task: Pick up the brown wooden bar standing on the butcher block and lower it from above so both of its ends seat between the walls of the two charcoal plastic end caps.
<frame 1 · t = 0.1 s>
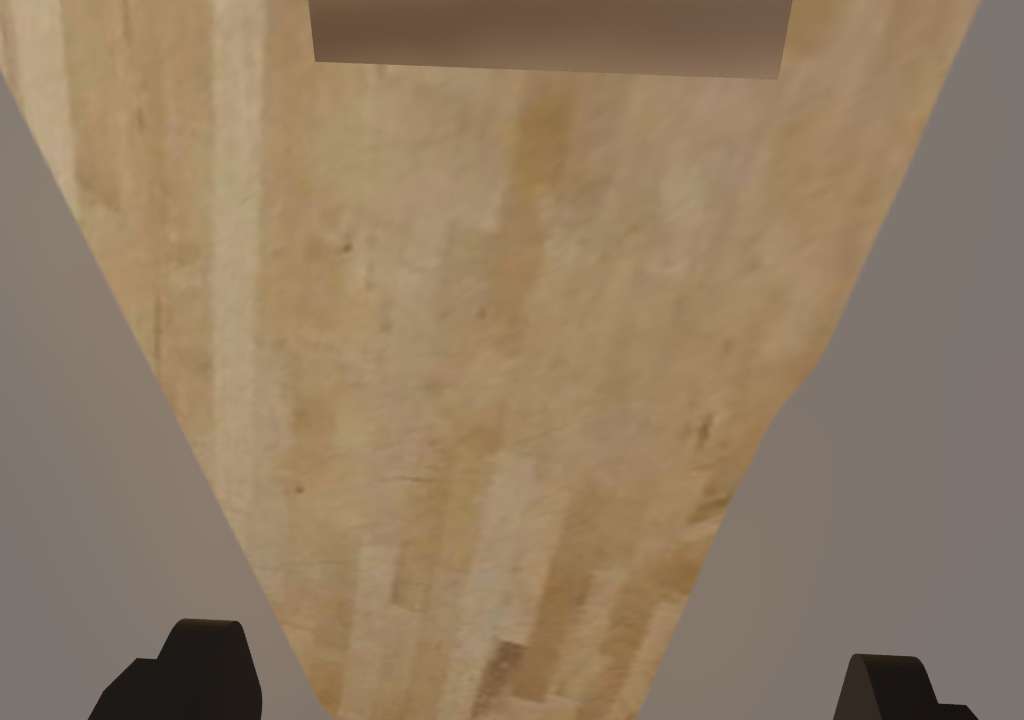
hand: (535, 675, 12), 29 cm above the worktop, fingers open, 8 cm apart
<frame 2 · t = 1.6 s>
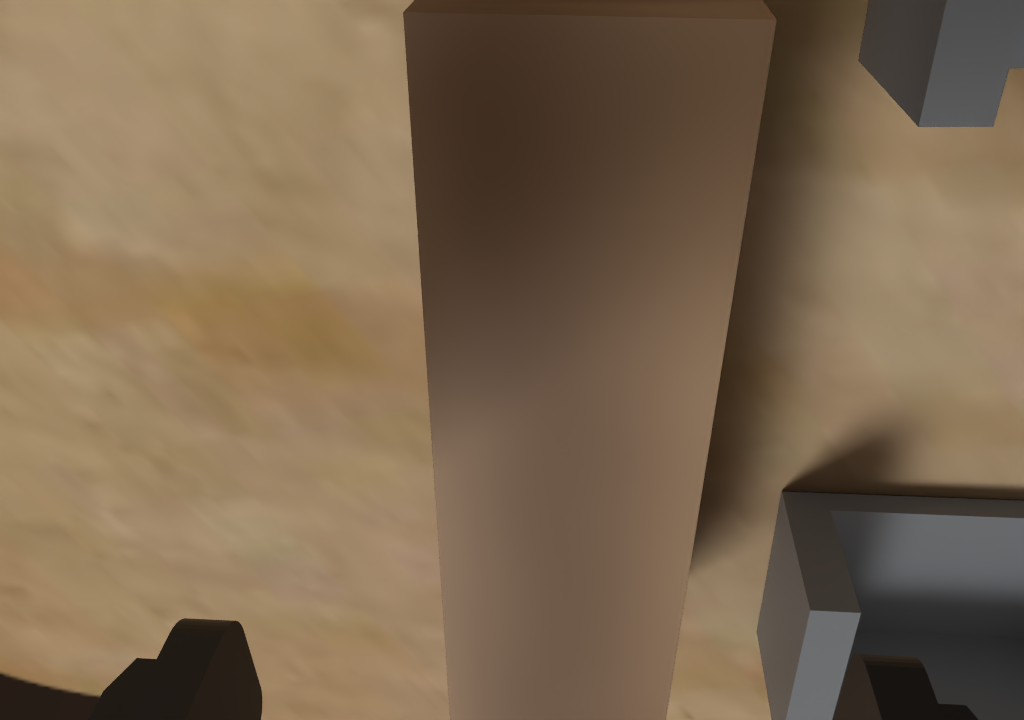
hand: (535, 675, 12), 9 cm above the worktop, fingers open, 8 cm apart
brown wooden bar: (576, 338, 19), on the worktop
endcap b: (937, 573, 22), on the worktop
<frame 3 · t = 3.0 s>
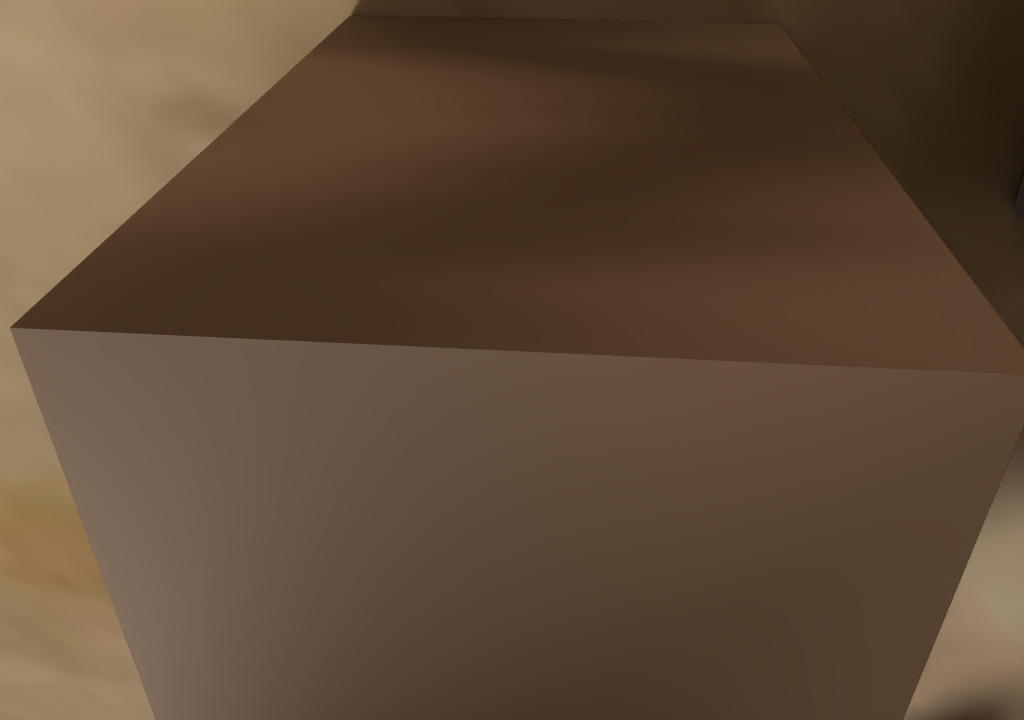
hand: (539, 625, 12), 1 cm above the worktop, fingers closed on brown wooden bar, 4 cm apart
brown wooden bar: (543, 584, 13), on the worktop, touching gripper
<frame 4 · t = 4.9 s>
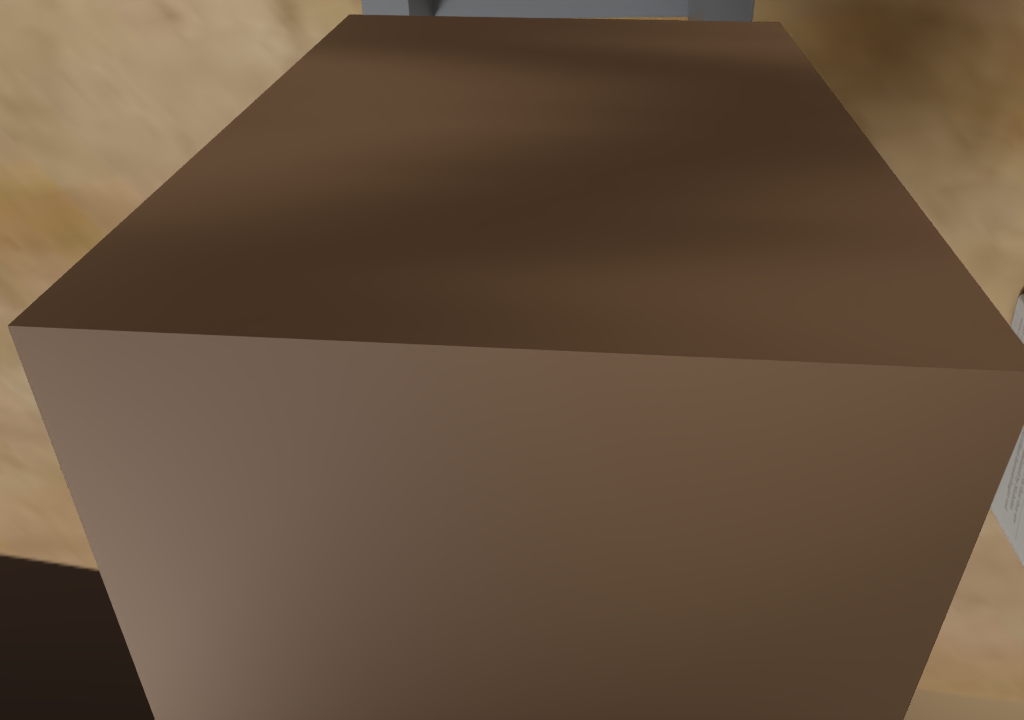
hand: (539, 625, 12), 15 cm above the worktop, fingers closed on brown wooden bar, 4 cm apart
brown wooden bar: (544, 584, 13), point 14 cm above the worktop, touching gripper
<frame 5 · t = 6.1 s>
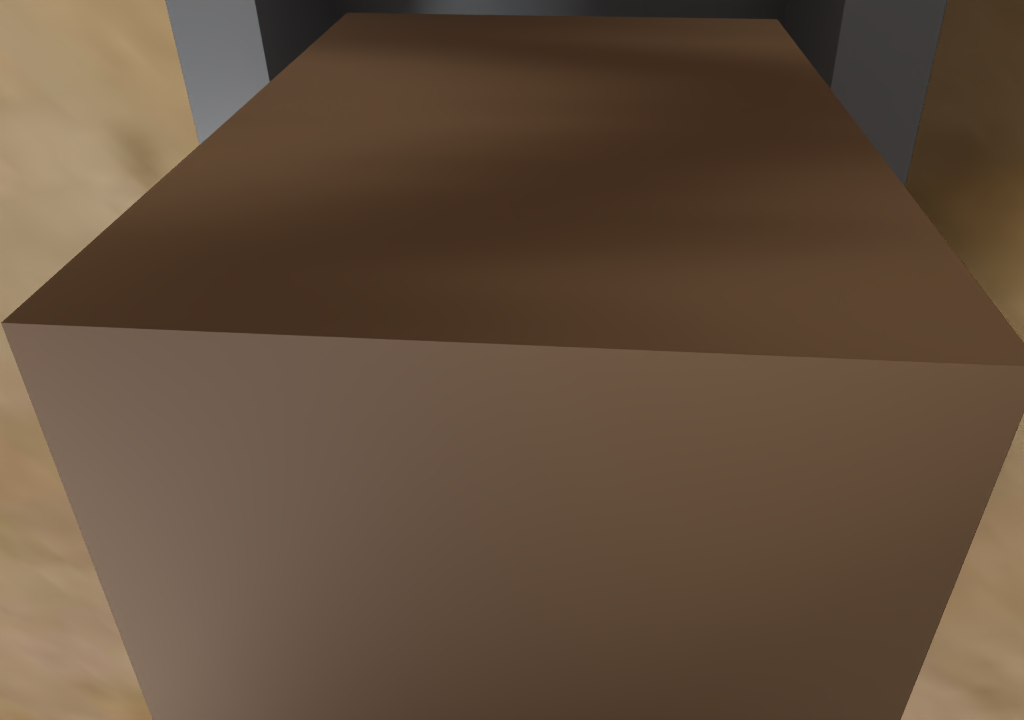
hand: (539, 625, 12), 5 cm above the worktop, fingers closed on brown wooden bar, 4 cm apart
brown wooden bar: (544, 583, 13), point 4 cm above the worktop, touching gripper
when the fingers open (2 cm above the worktop, at t = 7.0 s): brown wooden bar stays where it is, resting on endcap a, endcap b.
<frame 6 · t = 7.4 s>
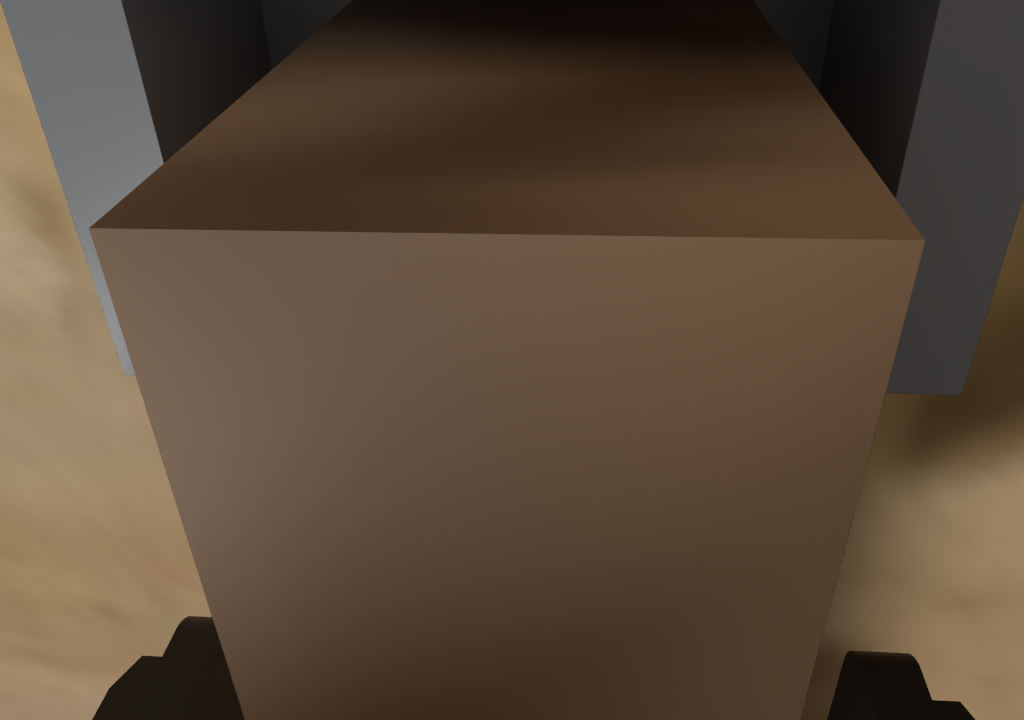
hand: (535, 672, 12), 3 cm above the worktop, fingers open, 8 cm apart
brown wooden bar: (549, 534, 14), point 1 cm above the worktop, touching endcap a, endcap b
endcap a: (542, 31, 10), on the worktop
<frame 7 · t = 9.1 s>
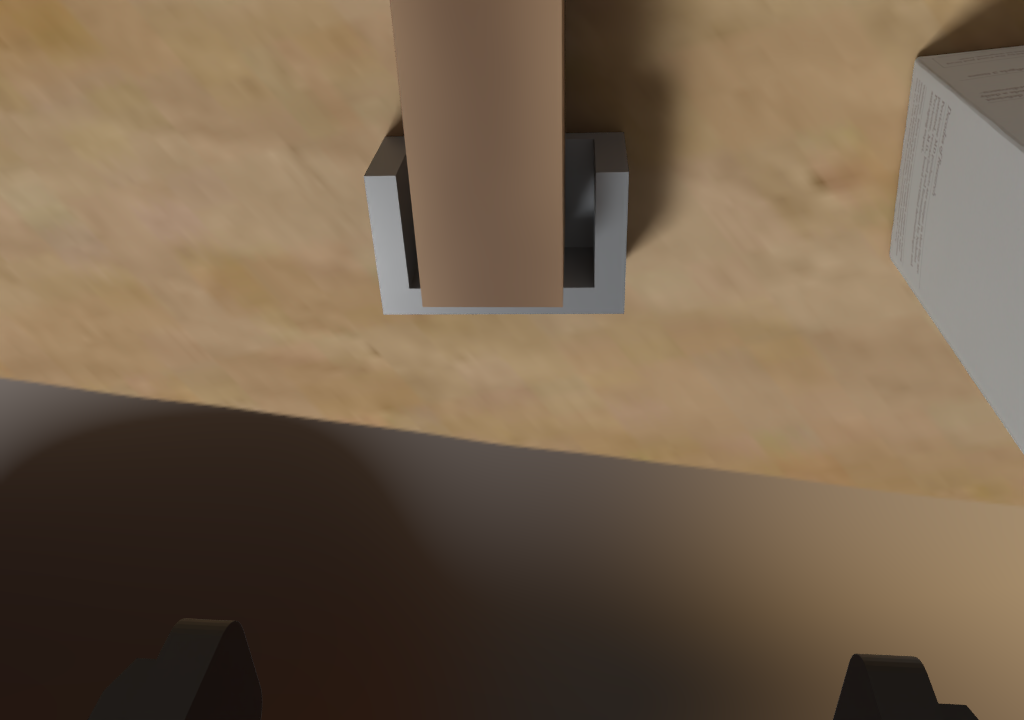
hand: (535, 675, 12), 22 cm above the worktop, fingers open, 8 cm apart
supplement box: (1008, 151, 29), on the worktop
endcap b: (506, 202, 31), on the worktop
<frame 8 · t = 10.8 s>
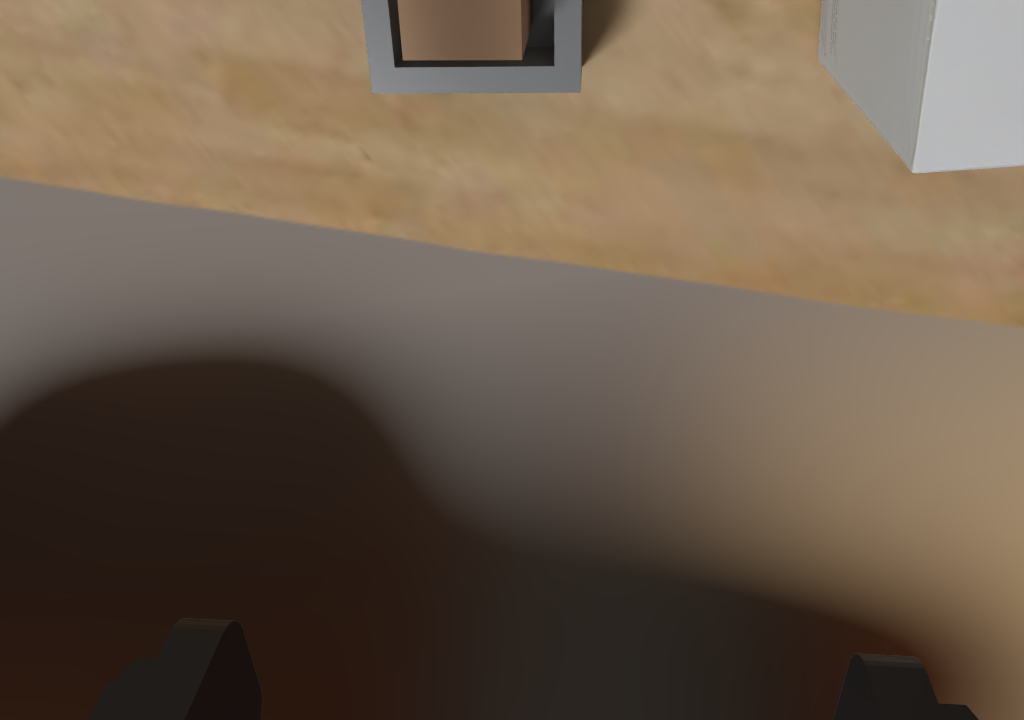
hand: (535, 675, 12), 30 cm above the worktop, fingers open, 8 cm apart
endcap b: (482, 5, 36), on the worktop
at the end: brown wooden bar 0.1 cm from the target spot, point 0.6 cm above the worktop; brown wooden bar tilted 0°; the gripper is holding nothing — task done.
